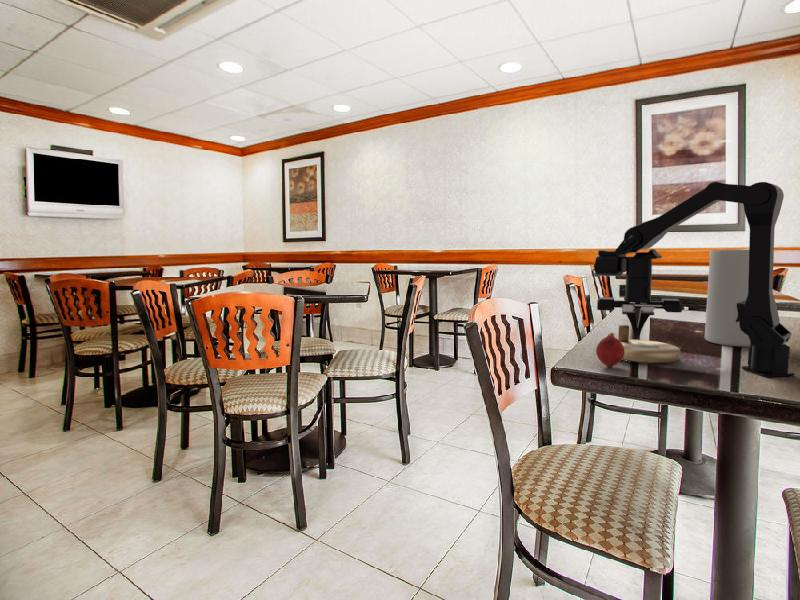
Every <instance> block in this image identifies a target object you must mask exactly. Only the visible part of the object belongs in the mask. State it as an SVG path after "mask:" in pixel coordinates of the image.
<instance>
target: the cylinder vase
mask: <svg viewBox="0 0 800 600" xmlns="http://www.w3.org/2000/svg"><path fill="white" fill-rule="evenodd" d="M708 263H709V265H708V267H709V268H708V280H707V297H706V309H705V310H706V312H705V324H704V325H705V328H704V339H705V340H706V341H707V342H709V343H713V344H716V345H721V346H727V347H728V346H729V347H743V348H744V347H745V348H746V347H748V348H749V347H750V339H749V337H748V335H746V334H745V333H744V332H743V331H741V329H740V325H739V322H740V321H739V322H736V319H737V317H738V311H737V303H739V302H741V301H746V298H747V295H748V280H749V249H718V250H717V249H716V250H715V249H714V250H710V251H709V262H708Z"/></svg>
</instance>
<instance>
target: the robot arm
mask: <svg viewBox="0 0 800 600" xmlns="http://www.w3.org/2000/svg"><path fill="white" fill-rule="evenodd" d="M784 197H785V194H784V191H783V190H782V188H781V187H779V186H778V185H776V184H773V183H771V182H766V181H758V182H755V183H752V184H751V185H744V184H743V185H742V184H734V183H733V184H731V183H725V182H724V183H723V182H719V181H712V182H710V183H708V184H707V185H706V186H705V187H704V188H702V189H701V190H699V191H697V192H695V193H694V194H692V195H691V196H690V197H688V198H686V199H685V200H683V201H682V202H679V203H678V204H677V205H675V206H674V207H672V208H669V210H667V211H665V212H664V213H662V214H660V215H659V216H657V217H654V218H652V219H649V220H646V221H643V222H641V223H638V224H637V225H634V226H631V227H629V228H628V229H627V230H626V231H625V232H624V235H623V240H622V241H621V243H620V244H619V245H618V246H617V248H616V249H615V250H607V249H606V250H604V249H601V250H598V252H597V253H598V255H597V256H596V258H595V260H594V263H593V271H594V274H595V275H596V276H598V277H621V276H622V275H623V274H624V273H625V284H619V285H618V287H619V289H618V297H619V298H624V300H615V297H613V296H612V297H609V296H608V297H607V296H606V297H605V296H604V297H603V296H601V297H599V298H598V299H597V302H596V309H597V311H612V310H613V309H614V308H618V309H621V314H622V315H626V316H627V319H628V320H629V321H628V322H630V325H631V328H632V331H633V335H634V337H635V339H639V337H640V335H641V332H642V330H643V328H644V326H645V324H646V323H647V321H648V319H649V317H650V316H655V309H656V310H657V309H659V310H660V309H662V310H664V311H665V312H666V313H678V314H679V313H682V312H683V302H682V301H680V299H678V298H669V297H668V298H663V297H662V298H661V301H659V300H654V301H653V300H652V273H653V272H652V271H653V260H658V259H662V258H663V256H662V255H661V254H660V252H658V251H657V250H656V248H655V249H654V248H652V247H653V246H654V245H656V244H657V243H658V242H659V241H660V240H662V239H663V238H664V237H665V235H667V233H668V232H670V231H671V230H673V229H675V227H678V226H679V225H681V224H682V223H685V222H686V221H688V220H689V219H691V218H693V217H695V216H696V215H698V214H699V213H701V212H703V211H705V210H706V209H708V208H709V207H711V206H713V205H715V204H717V203H718V202H720V201H721V202H728V203H729V202H730V203H737V204H738V203H739V204H743V210H744V214H745V218H746V221H747V223H748V227H749V242H748V243H749V245H748V246H749V248H748V250H749V280H748V295H747V298H746V301H741V302H739V303H737V311H738V317H737V319H736V322H739V321H740V322H739V325H740V329H741V331H743V332H744V333H745V334H746V335H748V337H749V339H750V347H748V355H747V365H743V366H741V369H742V370H745V371H748V372H752V373H755V374H757V375H760V376H762V377H763V376H764V377H771V378H772V377H785V376H786V377H787V376H789V377H790V376H795V375H796V373H795V372H793V371H789V363H790V362H789V361H790V352H791V351H790V349H791V346H789V345H787V344H786V343H788V342H789V340H790V339H791V337H792V335H793V333H792V332H791V331H790V330H789V329H787V328H786V327H785V326H784V325H783V324H782V323H780V321H781V320H780V316H779V311H778V306H777V303H776V302H777V301H776V299H775V296H774V293H773V292H774V291H773V286H774V284H773V283H774V282H773V281H774V260H775V259H774V254H775V253H774V252H775V251H774V250H775V230H776V229H775V228H776V224H777V221H778V219H779V216H780V214H781V209H782V205H783V201H784V199H785V198H784ZM648 249H649V250H648ZM641 250H643V251H644V250H648V251H644V252H643V251H642V252H641ZM638 251H640V252H638ZM629 254H634V255H633V256H627V255H629ZM635 309H639V314H638V315H639V316H638V322H637V316H636V311H635Z"/></svg>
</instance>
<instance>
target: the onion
mask: <svg viewBox="0 0 800 600" xmlns="http://www.w3.org/2000/svg"><path fill="white" fill-rule="evenodd" d="M595 351H596V353H595V354H596V356H597V358H598V360H599V362H600V363H602V364H603V365H605V366H606V367H607V368H613V367H614V366H616V365H617V364H619V363H620V362H621V361H623V360H622V359H623V357H624V347H623V345H622V343H621V342H620V341H619V340H618V338H616V337H615V333H613V332H609V333H608V334H607V336H606V337H603V338H602V339H601V340H600V341H599V342H598V343H597V346H596V349H595Z"/></svg>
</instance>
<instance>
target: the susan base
mask: <svg viewBox="0 0 800 600" xmlns="http://www.w3.org/2000/svg"><path fill="white" fill-rule="evenodd" d="M624 360H625V359H623V360H622V361H624ZM628 361H631V360H627V361H626V362H628ZM634 362H636V363H635V364H642V363H644V364H645V365H646V364H647V365H658V364H659V365H660V364H666V363H668V362H639V361H631V362H630V363H634ZM644 364H643V365H644Z"/></svg>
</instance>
